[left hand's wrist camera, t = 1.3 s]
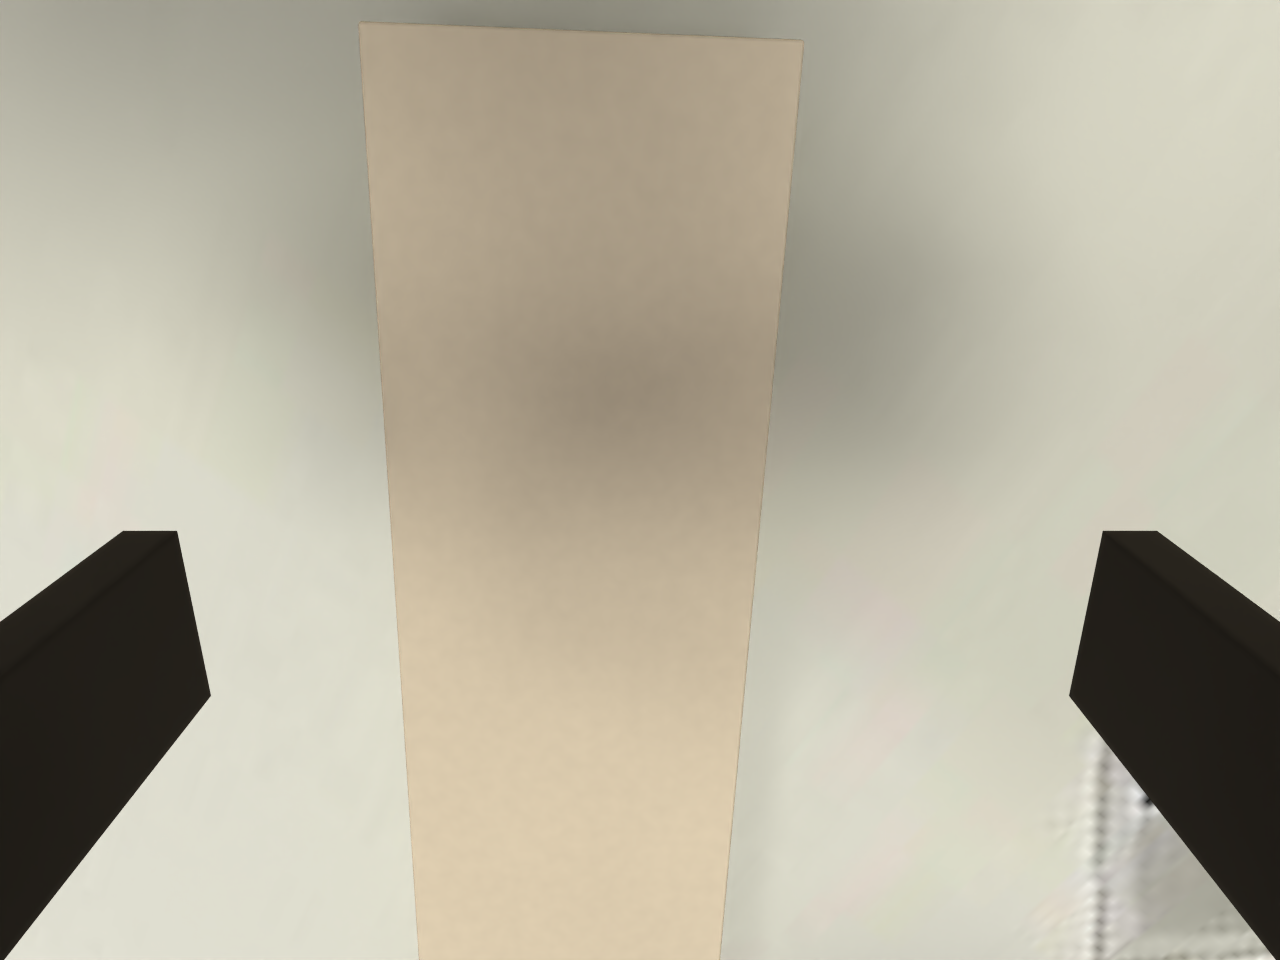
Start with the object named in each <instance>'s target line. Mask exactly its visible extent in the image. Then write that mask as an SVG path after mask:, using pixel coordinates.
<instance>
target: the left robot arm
mask: <svg viewBox="0 0 1280 960" xmlns="http://www.w3.org/2000/svg"><path fill="white" fill-rule="evenodd" d="M210 696H211V694H210V689H209V684H208V679H207V675H206V670H205V665H204V660H203V655H202V650H201V645H200V640H199V636H198V631H197V626H196V621H195V616H194V611H193V606H192V601H191V597H190V592H189V587H188V582H187V577H186V572H185V567H184V562H183V558H182V553H181V548H180V543H179V538H178V533H177V531H122V532H121V533H120V534H118V535H117V536H116V537H114V538H113V539H111V540H110V541H109V542H107V543H106V544H105V545H103V546H102V547H101V548H99V549H98V550H97V551H95V552H94V553H93V554H91V555H90V556H89V557H87V558H86V559H84V560H83V561H82V562H80V563H79V564H78V565H76V566H75V567H74V568H72V569H71V570H70V571H68V572H67V573H66V574H64V575H63V576H62V577H60V578H59V579H57V580H56V581H55V582H53V583H52V584H51V585H49V586H48V587H47V588H45V589H44V590H43V591H41V592H40V593H39V594H37V595H36V596H35V597H33V598H32V599H30V600H29V601H28V602H26V603H25V604H24V605H22V606H21V607H20V608H18V609H17V610H16V611H14V612H13V613H12V614H10V615H9V616H8V617H6V618H5V619H3V620H2V621H1V622H0V960H4V959H5V958H6V957H7V955H8V954H9V953H10V952H11V950H12V949H13V948H14V946H15V945H16V944H17V943H18V941H19V940H20V939H21V938H22V936H23V935H24V934H25V932H26V931H27V930H28V929H29V927H30V926H31V925H32V923H33V922H34V921H35V920H36V918H37V917H38V916H39V915H40V913H41V912H42V911H43V909H44V908H45V907H46V906H47V904H48V903H49V902H50V901H51V899H52V898H53V897H54V895H55V894H56V893H57V892H58V890H59V889H60V888H61V886H62V885H63V884H64V883H65V881H66V880H67V879H68V878H69V876H70V875H71V874H72V872H73V871H74V870H75V869H76V867H77V866H78V865H79V864H80V862H81V861H82V860H83V858H84V857H85V856H86V855H87V853H88V852H89V851H90V849H91V848H92V847H93V846H94V844H95V843H96V842H97V841H98V839H99V838H100V837H101V835H102V834H103V833H104V832H105V830H106V829H107V828H108V826H109V825H110V824H111V823H112V821H113V820H114V819H115V818H116V816H117V815H118V814H119V812H120V811H121V810H122V809H123V807H124V806H125V805H126V804H127V802H128V801H129V800H130V798H131V797H132V796H133V795H134V793H135V792H136V791H137V789H138V788H139V787H140V786H141V784H142V783H143V782H144V781H145V779H146V778H147V777H148V775H149V774H150V773H151V772H152V770H153V769H154V768H155V766H156V765H157V764H158V763H159V761H160V760H161V759H162V758H163V756H164V755H165V754H166V752H167V751H168V750H169V749H170V747H171V746H172V745H173V744H174V742H175V741H176V740H177V738H178V737H179V736H180V735H181V733H182V732H183V731H184V729H185V728H186V727H187V726H188V724H189V723H190V722H191V721H192V719H193V718H194V717H195V715H196V714H197V713H198V712H199V710H200V709H201V708H202V706H203V705H204V704H205V703H206V701H207V700H208V699H209V698H210ZM1069 696H1070V698H1071V699H1072V700H1073V701H1074V703H1075V704H1076V705H1077V706H1078V708H1079V709H1080V710H1081V712H1082V713H1083V714H1084V715H1085V717H1086V718H1087V719H1088V721H1089V722H1090V723H1091V724H1092V726H1093V727H1094V728H1095V729H1096V731H1097V732H1098V733H1099V735H1100V736H1101V737H1102V738H1103V740H1104V741H1105V742H1106V744H1107V745H1108V746H1109V747H1110V749H1111V750H1112V751H1113V752H1114V754H1115V755H1116V756H1117V758H1118V759H1119V760H1120V761H1121V763H1122V764H1123V765H1124V766H1125V768H1126V769H1127V770H1128V772H1129V773H1130V774H1131V775H1132V777H1133V778H1134V779H1135V781H1136V782H1137V783H1138V784H1139V786H1140V787H1141V788H1142V789H1143V791H1144V792H1145V793H1146V795H1147V796H1148V797H1149V798H1150V800H1151V801H1152V802H1153V804H1154V805H1155V806H1156V807H1157V809H1158V810H1159V811H1160V812H1161V814H1162V815H1163V816H1164V818H1165V819H1166V820H1167V821H1168V823H1169V824H1170V825H1171V826H1172V828H1173V829H1174V830H1175V832H1176V833H1177V834H1178V835H1179V837H1180V838H1181V839H1182V841H1183V842H1184V843H1185V844H1186V846H1187V847H1188V848H1189V849H1190V851H1191V852H1192V853H1193V855H1194V856H1195V857H1196V858H1197V860H1198V861H1199V862H1200V864H1201V865H1202V866H1203V867H1204V869H1205V870H1206V871H1207V872H1208V874H1209V875H1210V876H1211V878H1212V879H1213V880H1214V881H1215V883H1216V884H1217V885H1218V886H1219V888H1220V889H1221V890H1222V892H1223V893H1224V894H1225V895H1226V897H1227V898H1228V899H1229V901H1230V902H1231V903H1232V904H1233V906H1234V907H1235V908H1236V909H1237V911H1238V912H1239V913H1240V915H1241V916H1242V917H1243V918H1244V920H1245V921H1246V922H1247V924H1248V925H1249V926H1250V927H1251V929H1252V930H1253V931H1254V932H1255V934H1256V935H1257V936H1258V938H1259V939H1260V940H1261V941H1262V943H1263V944H1264V945H1265V946H1266V948H1267V949H1268V950H1269V952H1270V953H1271V954H1272V955H1273V957H1274V958H1275V959H1276V960H1280V622H1279V621H1278V620H1277V619H1275V618H1274V617H1272V616H1271V615H1270V614H1268V613H1267V612H1266V611H1264V610H1263V609H1262V608H1260V607H1259V606H1258V605H1256V604H1255V603H1254V602H1252V601H1251V600H1250V599H1248V598H1247V597H1245V596H1244V595H1243V594H1241V593H1240V592H1239V591H1237V590H1236V589H1235V588H1233V587H1232V586H1231V585H1229V584H1228V583H1227V582H1225V581H1224V580H1223V579H1221V578H1220V577H1218V576H1217V575H1216V574H1214V573H1213V572H1212V571H1210V570H1209V569H1208V568H1206V567H1205V566H1204V565H1202V564H1201V563H1200V562H1198V561H1197V560H1196V559H1194V558H1193V557H1191V556H1190V555H1189V554H1187V553H1186V552H1185V551H1183V550H1182V549H1181V548H1179V547H1178V546H1177V545H1175V544H1174V543H1173V542H1171V541H1170V540H1169V539H1167V538H1166V537H1164V536H1163V535H1162V534H1160V533H1159V532H1158V531H1103V533H1102V538H1101V543H1100V548H1099V553H1098V558H1097V562H1096V567H1095V572H1094V577H1093V582H1092V587H1091V592H1090V597H1089V601H1088V606H1087V611H1086V616H1085V621H1084V626H1083V631H1082V636H1081V640H1080V645H1079V650H1078V655H1077V660H1076V665H1075V670H1074V675H1073V679H1072V684H1071V689H1070V694H1069Z"/></svg>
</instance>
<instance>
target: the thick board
mask: <svg viewBox="0 0 1280 960" xmlns="http://www.w3.org/2000/svg"><path fill="white" fill-rule="evenodd" d="M358 28H359V44H360V59H361V74H362V90H363V105H364V121H365V136H366V151H367V167H368V182H369V198H370V213H371V228H372V244H373V259H374V274H375V290H376V305H377V321H378V336H379V351H380V367H381V382H382V397H383V413H384V428H385V444H386V459H387V474H388V490H389V505H390V521H391V536H392V551H393V567H394V582H395V597H396V613H397V628H398V644H399V659H400V674H401V690H402V705H403V720H404V736H405V751H406V767H407V782H408V797H409V813H410V828H411V844H412V859H413V874H414V890H415V905H416V920H417V936H418V951H419V960H720V953H721V942H722V931H723V920H724V909H725V898H726V887H727V876H728V866H729V855H730V844H731V833H732V822H733V811H734V800H735V789H736V779H737V768H738V757H739V746H740V735H741V724H742V713H743V702H744V692H745V681H746V670H747V659H748V648H749V637H750V626H751V615H752V605H753V594H754V583H755V572H756V561H757V550H758V539H759V528H760V518H761V507H762V496H763V485H764V474H765V463H766V452H767V442H768V431H769V420H770V409H771V398H772V387H773V376H774V365H775V355H776V344H777V333H778V322H779V311H780V300H781V289H782V278H783V268H784V257H785V246H786V235H787V224H788V213H789V202H790V191H791V181H792V170H793V159H794V148H795V137H796V126H797V115H798V104H799V94H800V83H801V72H802V61H803V50H804V41H803V40H794V39H770V38H746V37H722V36H699V35H675V34H651V33H627V32H604V31H580V30H556V29H532V28H508V27H485V26H461V25H437V24H413V23H389V22H366V21H361V22H359V24H358Z"/></svg>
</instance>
